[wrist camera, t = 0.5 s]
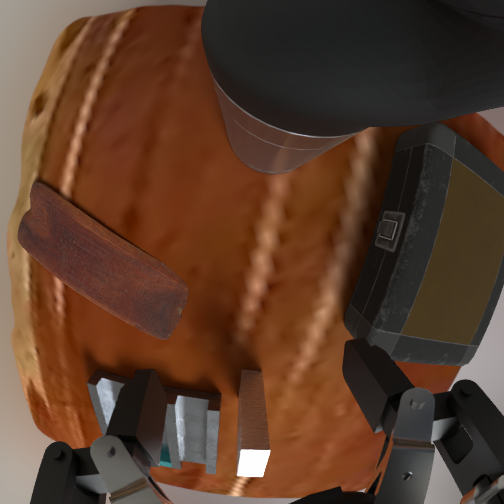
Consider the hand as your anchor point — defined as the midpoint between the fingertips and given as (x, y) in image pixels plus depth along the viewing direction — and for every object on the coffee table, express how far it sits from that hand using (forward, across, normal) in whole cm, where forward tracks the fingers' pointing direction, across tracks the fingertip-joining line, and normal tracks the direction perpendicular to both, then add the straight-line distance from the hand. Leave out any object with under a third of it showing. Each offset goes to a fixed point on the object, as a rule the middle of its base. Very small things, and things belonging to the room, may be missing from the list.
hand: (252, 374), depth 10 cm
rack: (+17, +15, +25) cm, 34 cm away
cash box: (+17, -25, +3) cm, 30 cm away
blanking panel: (+17, 0, +18) cm, 25 cm away
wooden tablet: (+21, +17, 0) cm, 28 cm away
